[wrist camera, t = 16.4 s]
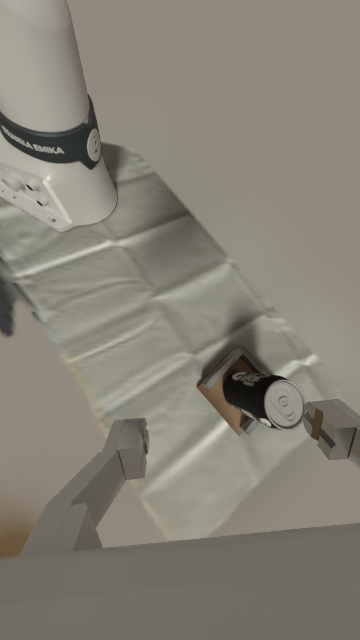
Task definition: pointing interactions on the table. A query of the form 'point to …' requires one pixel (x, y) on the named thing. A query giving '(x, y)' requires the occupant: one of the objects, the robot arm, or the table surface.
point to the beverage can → (266, 399)
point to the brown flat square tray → (215, 381)
